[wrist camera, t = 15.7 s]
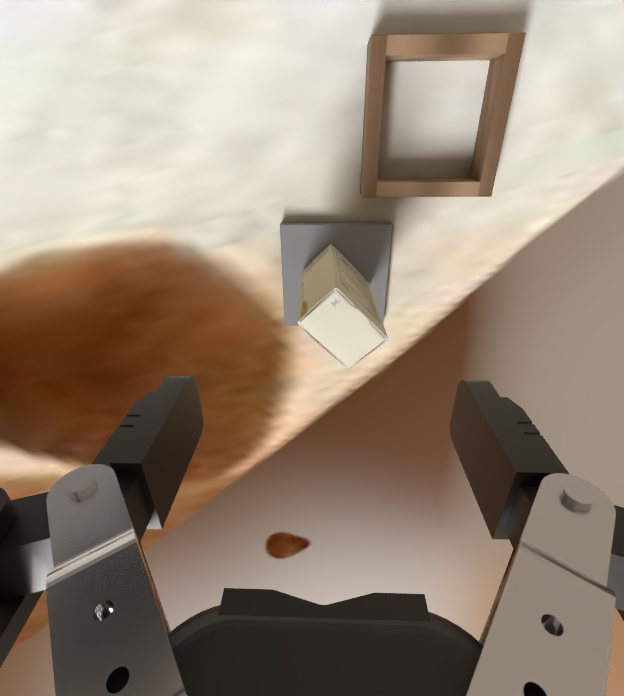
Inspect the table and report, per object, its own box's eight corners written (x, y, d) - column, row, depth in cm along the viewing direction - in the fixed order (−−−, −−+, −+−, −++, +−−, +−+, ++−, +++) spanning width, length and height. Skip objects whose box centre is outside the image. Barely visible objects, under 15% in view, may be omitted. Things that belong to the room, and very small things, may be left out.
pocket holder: (360, 192, 37) (362, 196, 34) (367, 43, 31) (371, 35, 28) (479, 192, 36) (491, 196, 34) (508, 41, 31) (525, 32, 28)
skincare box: (301, 270, 39) (291, 321, 29) (331, 241, 38) (333, 283, 27) (342, 311, 42) (348, 372, 31) (373, 285, 40) (390, 340, 29)
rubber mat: (285, 321, 44) (284, 325, 43) (281, 222, 38) (280, 225, 37) (381, 321, 43) (383, 326, 42) (390, 222, 38) (392, 224, 37)
